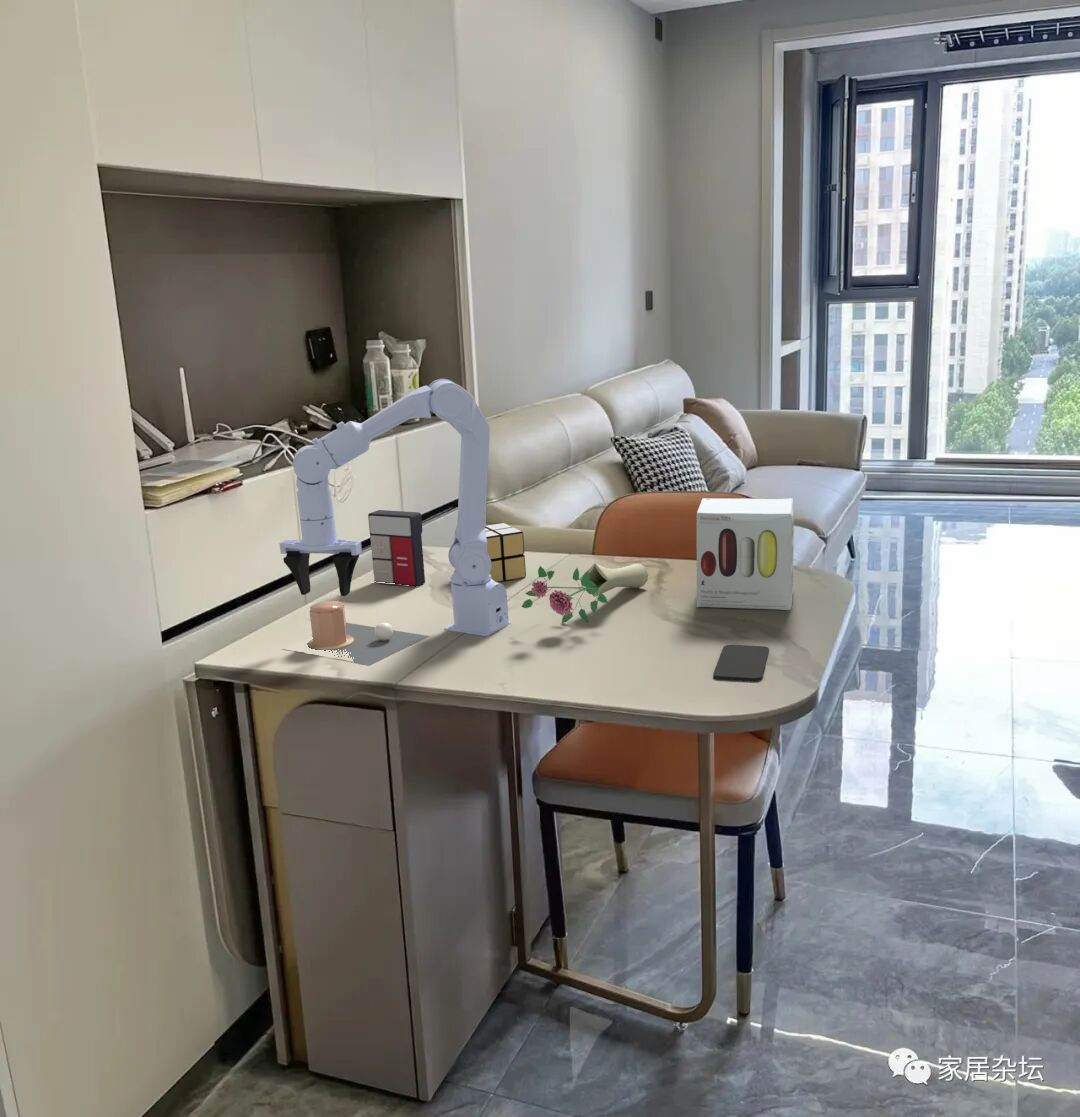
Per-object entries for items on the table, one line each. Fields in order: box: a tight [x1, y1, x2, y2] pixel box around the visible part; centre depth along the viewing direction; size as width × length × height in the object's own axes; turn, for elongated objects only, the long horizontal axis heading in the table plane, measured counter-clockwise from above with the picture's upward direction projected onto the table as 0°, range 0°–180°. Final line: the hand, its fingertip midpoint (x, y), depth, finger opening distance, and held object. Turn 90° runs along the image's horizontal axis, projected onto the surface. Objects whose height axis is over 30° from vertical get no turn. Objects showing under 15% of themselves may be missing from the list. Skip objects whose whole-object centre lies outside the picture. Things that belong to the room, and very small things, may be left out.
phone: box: [712, 644, 770, 683], centre depth 168 cm, size 7×1×15 cm
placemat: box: [329, 622, 430, 667], centre depth 187 cm, size 20×16×1 cm
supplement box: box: [696, 497, 795, 611], centre depth 198 cm, size 17×13×18 cm
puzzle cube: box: [485, 522, 527, 583], centre depth 224 cm, size 10×10×10 cm
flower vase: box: [521, 562, 649, 624], centre depth 197 cm, size 12×12×35 cm
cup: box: [309, 600, 347, 647], centre depth 187 cm, size 6×6×6 cm
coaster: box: [307, 635, 354, 651], centre depth 188 cm, size 8×8×1 cm
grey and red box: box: [367, 509, 426, 588], centre depth 222 cm, size 11×4×15 cm, turn 62°
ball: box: [374, 622, 394, 641], centre depth 187 cm, size 3×3×3 cm
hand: (325, 594), depth 185 cm, fingers open, 7 cm apart
